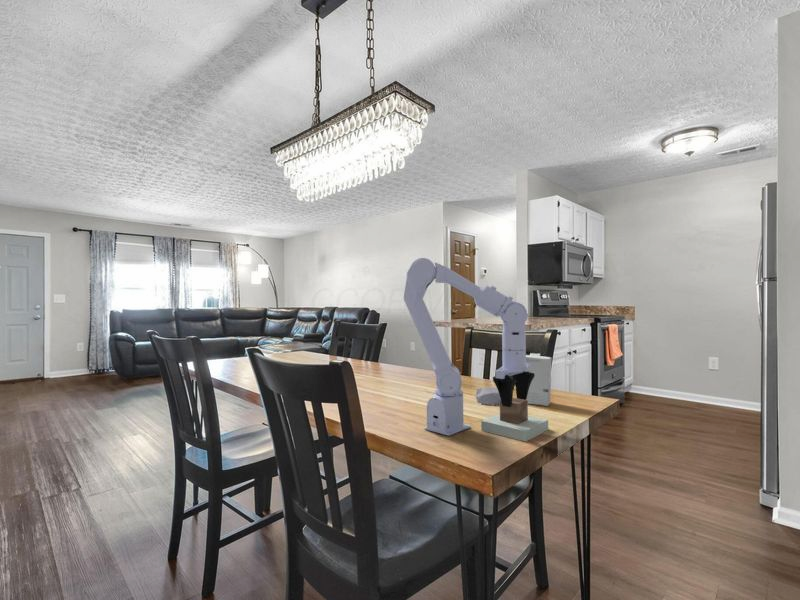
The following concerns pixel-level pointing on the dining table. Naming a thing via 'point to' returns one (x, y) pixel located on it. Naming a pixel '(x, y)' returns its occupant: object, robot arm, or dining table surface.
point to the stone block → (488, 395)
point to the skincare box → (539, 380)
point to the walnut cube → (514, 411)
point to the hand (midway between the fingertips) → (514, 403)
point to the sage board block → (515, 427)
